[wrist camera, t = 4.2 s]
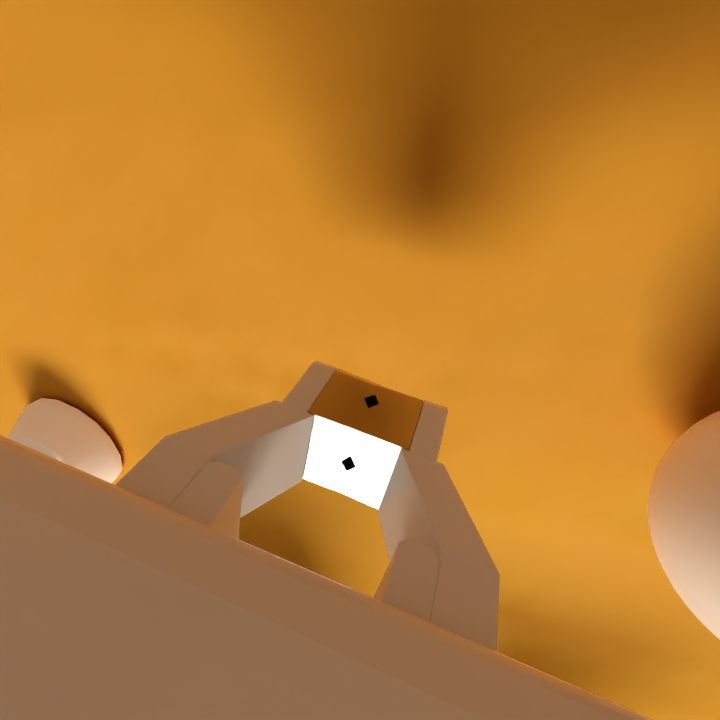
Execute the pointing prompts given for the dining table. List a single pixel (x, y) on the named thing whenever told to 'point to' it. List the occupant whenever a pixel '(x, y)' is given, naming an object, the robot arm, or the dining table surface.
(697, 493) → the cue ball
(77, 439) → the white jar
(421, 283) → the dining table surface
